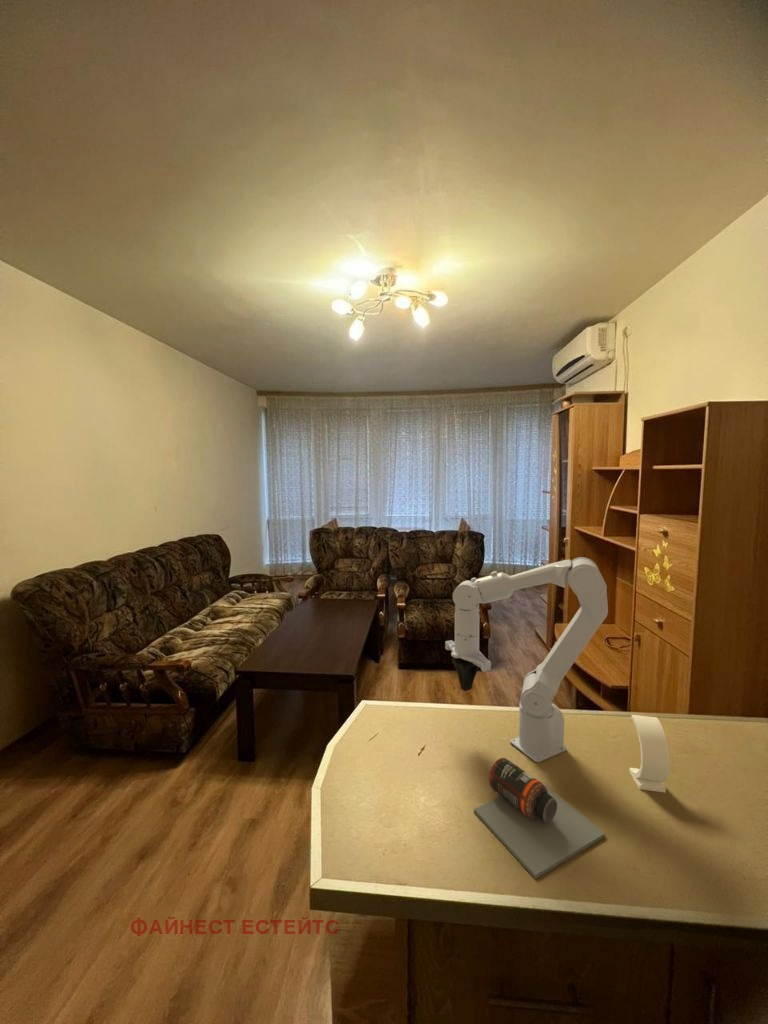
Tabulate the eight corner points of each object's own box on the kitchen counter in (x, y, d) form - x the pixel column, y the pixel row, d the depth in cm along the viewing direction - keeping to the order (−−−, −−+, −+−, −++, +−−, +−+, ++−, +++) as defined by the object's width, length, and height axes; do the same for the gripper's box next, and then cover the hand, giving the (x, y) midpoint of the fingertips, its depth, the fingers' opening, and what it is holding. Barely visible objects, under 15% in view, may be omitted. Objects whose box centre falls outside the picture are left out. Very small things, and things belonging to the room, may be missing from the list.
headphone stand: (654, 774, 82) (656, 717, 82) (668, 796, 76) (671, 735, 76) (629, 771, 83) (631, 714, 82) (641, 793, 77) (643, 732, 77)
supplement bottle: (496, 794, 78) (548, 836, 69) (482, 779, 76) (534, 820, 66) (512, 765, 80) (565, 802, 71) (499, 750, 78) (552, 786, 68)
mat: (538, 782, 80) (538, 779, 80) (604, 836, 68) (605, 833, 68) (474, 812, 73) (474, 808, 73) (535, 878, 60) (535, 875, 60)
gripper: (435, 626, 100) (434, 679, 101) (473, 646, 87) (472, 707, 88) (458, 621, 103) (457, 673, 104) (498, 640, 90) (497, 700, 91)
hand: (466, 688), depth 96 cm, fingers closed
